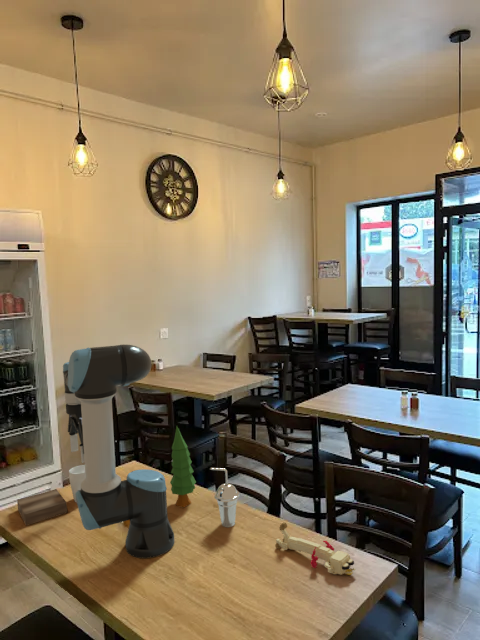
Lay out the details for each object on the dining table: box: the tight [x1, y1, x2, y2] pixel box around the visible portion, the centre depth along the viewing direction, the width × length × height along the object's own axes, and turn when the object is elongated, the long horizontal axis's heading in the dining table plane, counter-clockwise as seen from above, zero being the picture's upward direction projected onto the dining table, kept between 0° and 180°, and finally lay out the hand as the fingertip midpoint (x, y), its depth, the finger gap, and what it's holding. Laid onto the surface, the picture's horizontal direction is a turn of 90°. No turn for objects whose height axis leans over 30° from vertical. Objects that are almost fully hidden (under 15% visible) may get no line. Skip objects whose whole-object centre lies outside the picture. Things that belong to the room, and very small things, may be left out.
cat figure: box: [274, 521, 356, 576], centre depth 138 cm, size 10×9×25 cm
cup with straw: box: [209, 467, 241, 528], centre depth 159 cm, size 8×9×20 cm
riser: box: [16, 488, 68, 526], centre depth 174 cm, size 14×14×4 cm
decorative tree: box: [170, 425, 197, 508], centre depth 175 cm, size 10×9×30 cm
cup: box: [68, 464, 86, 503], centre depth 182 cm, size 9×9×12 cm
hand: (80, 456), depth 182 cm, fingers open, 13 cm apart
